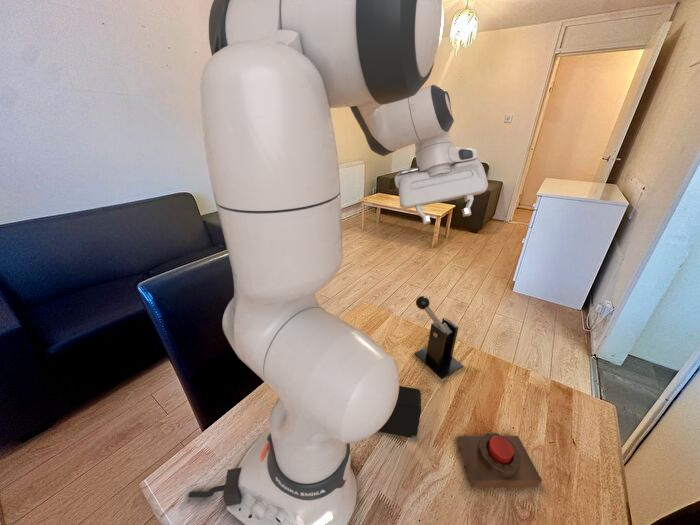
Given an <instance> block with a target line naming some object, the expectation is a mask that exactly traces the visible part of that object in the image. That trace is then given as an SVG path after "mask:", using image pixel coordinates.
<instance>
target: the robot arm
mask: <svg viewBox="0 0 700 525" xmlns="http://www.w3.org/2000/svg"><path fill="white" fill-rule="evenodd" d="M443 27H444V5H443V0H213V1H212V3H211V7H210V10H209V17H208V41H209V42H208V44H209V48H210V53H211V56H210V57H209V59H208V60H207V62H206V63H205V65H204V67H203V69H202V72H201V75H200V83H199V88H200V90H199V91H200V112H201V122H202V123H201V124H202V136H203V143H204V150H205V151H204V152H205V158H206V165H207V169H208V175H209V180H210V185H211V189H212V193H213V197H214V202H215V206H216V210H217V214H218V217H219V222H220V227H221V230H222V235H223V240H224V242H225V246H226V250H227V254H228V259H229V263H230V267H231V273H232V280H233V297H232V298H231V300H230V301H229V302H228V303H227V306H226V308H225V310H224V313H223V316H222V321H221V322H222V331H223V334H224V336H225V338H226V339H227V341H228V344H229V345H230V347H231V348H232V350H233V351H234V353H235V355H236V356H237V358H238V359H239V360H240V361H241V362H242V363H244V365H245V366H246V367H248V368H249V369H250V370H251V371H252V372H253V373H255V374H256V375H257V377H259V378H260V379H261V380H262V381H263V382H264V383H265V384H267V386H268V388H270V389H271V390H272V392H274V394H275V395H276V397H277V400H276V401H275V402H274V405H273V406H272V408H271V411H270V414H269V419H268V422H269V423H268V428H267V429H266V430H265V431H263V433H262V434H261V435H260V436H259V437H258V438H257V440H256V441H255V442H254V443H253V444H252V445H251V447H250V448H249V449H248V451H246V453H245V454H244V456H243V458H242V459H241V461H240V463H239V465H238V467H234V468H231V469H227V472H226V476H225V482H224V484H223V485H218V486H213V487H211V488H209V490H208V491H189V493H188V498H209V497H212V496H214V494H215V493H218V492H223V494H222V499H223V501H224V504H225V506H226V510H227V511H228V513H230V514H231V515H232V516H233V517H235V518H236V519H237V520H238V521H240V522H241V523H242V524H243V525H348V523H349V521H350V520H351V518H352V516H353V513H354V511H355V508H356V503H357V499H358V486H357V480H356V476H355V473H354V470H353V468H352V467H351V463H352V452H351V444H354V443H358V442H361V441H364V440H366V439H368V438H369V437H372V436H373V435H375V434H376V433H377V432H378V430H379V429H380V428H381V427H382V426H383V425H384V424H385V423H386V422H387V420H388V419H389V417H390V416H391V414H392V412H393V410H394V408H395V405H396V402H397V398H398V394H399V386H400V373H399V368H398V364H397V361H396V359H395V358H394V356H392V355H391V354H390V353H389V352H388V351H387V349H385V348H383V346H381V345H380V344H379V343H378V342H377V341H376V340H375V339H373V338H372V336H370V335H369V334H367V332H365V331H364V330H361V328H358V327H356V326H355V325H353V324H351V323H349V322H347V321H346V320H344V319H342V318H340V317H339V316H336V315H334V314H333V313H331V312H330V311H327V310H326V309H325V308H323V307H322V306H321V304H320V303H319V301H318V300H317V297H316V293H318V292H321V291H322V290H323V289H325V288H326V287H327V286H328V285H329V284H330V283H331V282H332V281H333V280H334V278H335V277H336V275H337V274H338V272H339V270H340V269H341V266H342V263H343V260H344V250H343V247H344V246H343V226H342V221H343V220H342V199H341V178H340V166H339V156H338V149H337V140H336V135H335V128H334V122H333V117H332V113H331V109H341V108H350V111H351V114H352V115H353V116H354V118H355V120H356V122H357V124H358V125H359V127H360V129H361V131H362V133H363V135H364V137H365V138H364V139H365V140H366V143H367V145H368V147H369V149H370V150H371V152H373V153H375V154H377V155H379V156H382V157H385V156H387V155H389V154H392V153H394V152H396V151H398V150H401V149H404V148H406V147H409V146H412V145H414V148H415V150H414V157H415V161H416V166H415V167H410V168H408V169H402V170H399V172H397V173H396V174H395V176H394V185H395V188H396V189H397V190H398V199H399V206H400V208H401V209H402V210H409V209H414V208H415V212H416V214H417V215H418V216H420V218H421V220H422V223H423V225H429V224H431V222H432V221H431V219H430V218H431V217H430V215H426V213H425V212H423V209H424V206H429V205H434V204H438V203H444V202H449V201H453V200H458V199H463V200H464V202H465V203H466V204H465V207H464V208H462V209H461V213H462V217H463V218H464V217H470V216H471V215H472V210H471V207H472V206H473V202H474V199H475V198H474V196H477V195H481V194H483V193H485V192H487V189H489V188H488V187H489V182H488V181H489V180H488V178H487V177H488V176H487V174H486V172H485V171H486V170H485V168H484V166H483V164H482V162H481V161H479V160H477V159H478V157H479V153H478V150H477V149H476V148H467V147H455V146H454V142H453V140H452V138H451V135H450V130H451V128H452V126H453V124H454V122H455V119H454V116H453V113H452V106H451V98H450V93H449V92H448V91H447V90H446V89H444V88H442V87H440V86H438V85H435V84H431V85H427V86H424V85H425V84H426V82H427V81H428V80H429V78H430V76H431V74H432V71H433V68H434V66H435V65H434V64H435V60H436V57H437V56H438V51H439V48H440V46H441V41H442V35H443V30H444V29H443ZM423 86H424V87H423Z"/></svg>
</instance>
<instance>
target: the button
mask: <svg viewBox="0 0 700 525" xmlns="http://www.w3.org/2000/svg"><path fill="white" fill-rule="evenodd" d="M488 452H489V454H490V455H491V457H492V458H493V459H494V460H496V461H497V462H499V463H502V464H507V463H509V462H510V461H511V459H512V457H513V454H514V450H513V447H512V445H511V444H510V443H509V442H508V441H507V440H506V439H504V438H502V437H500V436H494V437H492V438H491V439H490V441H489V444H488Z"/></svg>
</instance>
